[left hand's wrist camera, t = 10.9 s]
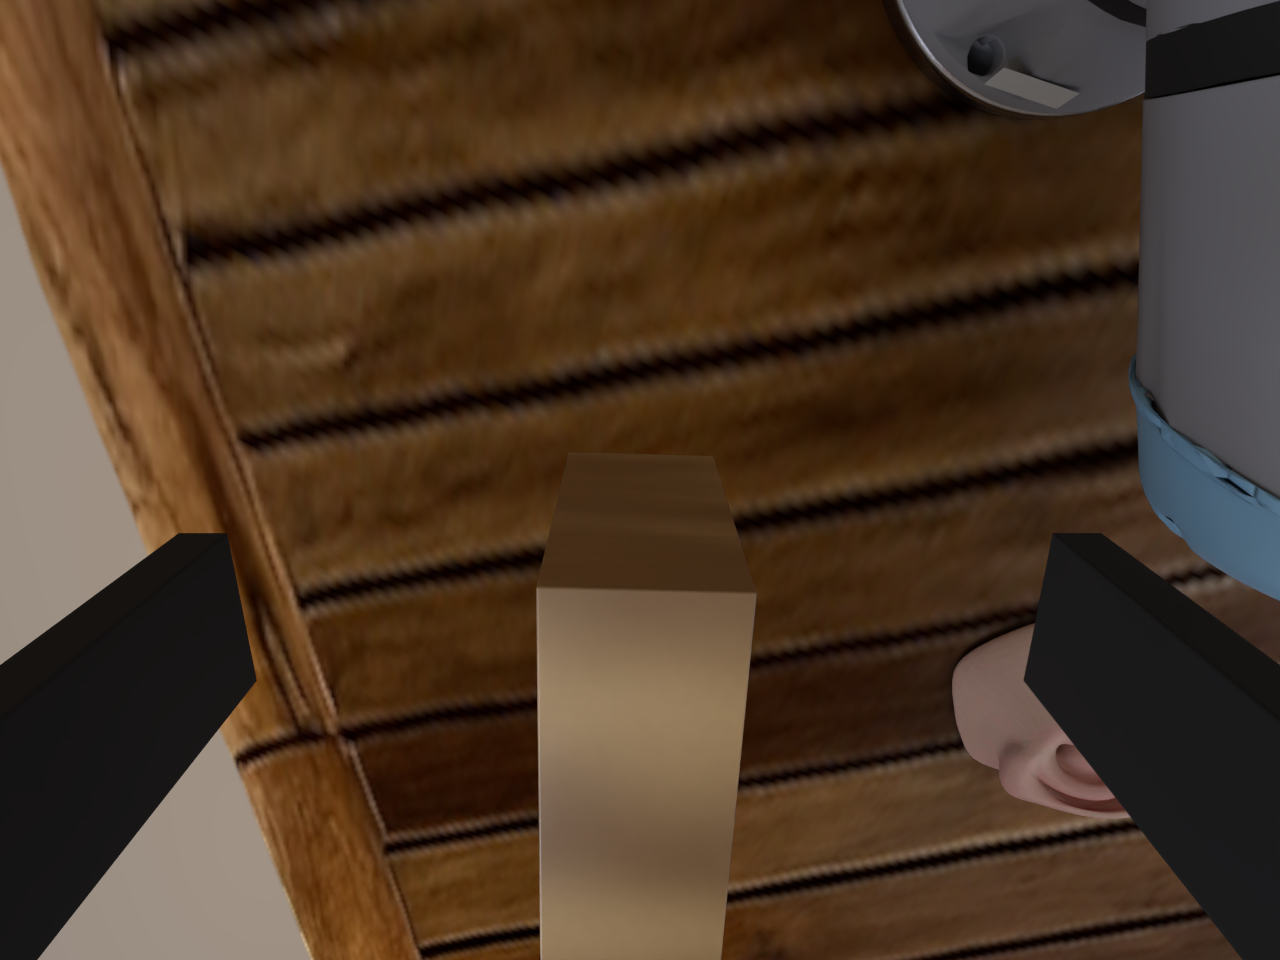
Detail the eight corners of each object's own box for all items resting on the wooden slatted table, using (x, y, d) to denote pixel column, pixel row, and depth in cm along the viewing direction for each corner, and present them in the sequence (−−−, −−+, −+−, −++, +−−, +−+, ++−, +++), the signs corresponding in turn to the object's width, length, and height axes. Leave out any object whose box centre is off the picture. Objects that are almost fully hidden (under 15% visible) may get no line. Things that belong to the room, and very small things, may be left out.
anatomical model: (940, 735, 39) (1145, 602, 37) (912, 688, 43) (1096, 564, 40) (1072, 885, 43) (1266, 772, 40) (1036, 830, 46) (1212, 724, 44)
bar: (568, 451, 24) (536, 586, 16) (713, 455, 24) (757, 592, 16) (566, 979, 31) (543, 1258, 23) (675, 981, 32) (692, 1259, 23)
